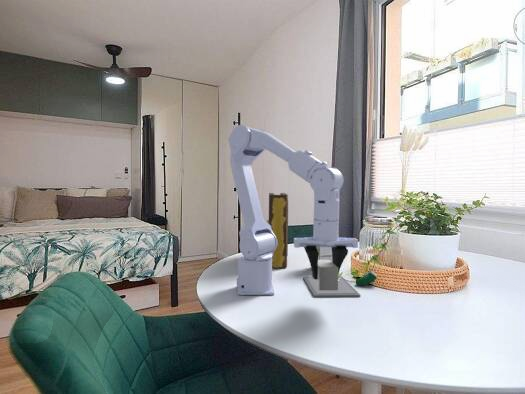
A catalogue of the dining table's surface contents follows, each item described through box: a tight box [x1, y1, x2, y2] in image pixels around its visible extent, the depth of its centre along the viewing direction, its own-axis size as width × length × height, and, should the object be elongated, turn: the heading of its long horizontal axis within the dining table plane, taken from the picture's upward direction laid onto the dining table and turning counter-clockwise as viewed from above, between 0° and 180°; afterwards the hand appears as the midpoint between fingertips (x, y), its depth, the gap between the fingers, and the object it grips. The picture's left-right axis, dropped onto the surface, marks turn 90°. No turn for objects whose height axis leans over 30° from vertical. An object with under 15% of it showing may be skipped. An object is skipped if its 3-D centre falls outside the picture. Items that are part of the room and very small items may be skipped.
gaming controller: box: [355, 270, 378, 286], centre depth 89 cm, size 9×4×6 cm
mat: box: [302, 276, 361, 298], centre depth 84 cm, size 12×15×1 cm
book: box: [265, 192, 289, 270], centre depth 112 cm, size 22×8×25 cm, turn 179°
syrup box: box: [316, 247, 332, 262], centre depth 102 cm, size 6×6×14 cm
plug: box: [313, 260, 339, 290], centre depth 71 cm, size 4×9×5 cm, turn 3°
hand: (324, 277), depth 70 cm, fingers closed on plug, 4 cm apart
